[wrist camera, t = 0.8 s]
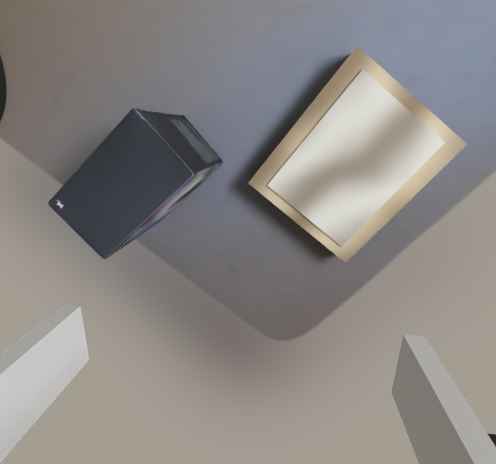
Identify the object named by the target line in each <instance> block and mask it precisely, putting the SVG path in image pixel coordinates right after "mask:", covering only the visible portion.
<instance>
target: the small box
mask: <svg viewBox="0 0 496 464" xmlns="http://www.w3.org/2000/svg"><path fill="white" fill-rule="evenodd" d="M222 162H223V161H222V160H221V158H220V157H219V156H218V155H217V154H216V152H215V151H214V150H213V149H212V148H211V147H210V145H209V144H208V143H207V142H206V141H205V140H204V138H203V137H202V136H201V135H200V134H199V133H198V132H197V130H196V129H195V128H194V127H193V126H192V124H191V123H190V122H189V121H188V120H187V119H186V117H185V116H184V115H174V114H165V113H159V112H151V111H145V110H140V109H137V108H132V109H131V111H130V112H129V113H128V114H127V115H126V116H125V117H124V118H123V119H122V121H121V122H120V123H119V124H118V125H117V126H116V127H115V128H114V129H113V130H112V132H111V133H110V134H109V135H108V136H107V137H106V138H105V139H104V141H103V142H102V143H101V144H100V145H99V146H98V147H97V148H96V149H95V150H94V152H93V153H92V154H91V155H90V156H89V157H88V158H87V159H86V161H85V162H84V163H83V164H82V165H81V166H80V167H79V169H78V170H77V171H76V172H75V173H74V174H73V175H72V176H71V177H70V179H69V180H68V181H67V182H66V183H65V184H64V185H63V186H62V187H61V189H60V190H59V191H58V192H57V193H56V194H55V195H54V197H53V198H52V199H51V200H50V201H49V202H48V204H49V206H50V207H51V208H52V209H53V210H54V211H55V212H56V213H57V214H58V215H59V216H60V217H61V218H62V219H63V220H64V221H65V222H66V223H67V224H68V225H69V226H70V227H71V228H72V229H73V230H74V231H75V232H76V233H77V234H78V235H79V236H80V237H81V238H82V239H83V240H84V241H85V242H86V243H87V244H88V245H89V246H90V247H91V248H92V249H93V250H94V251H95V252H96V253H98V254H99V255H100V256H101V258H103V259H106V258H108V257H109V256H110V255H112V254H113V253H115V252H117V251H118V250H120V249H121V248H122V247H124V246H125V245H127V244H128V243H130V242H131V241H133V240H134V239H136V238H137V237H139V236H140V235H141V234H143V233H144V232H146V231H147V230H149V229H150V228H151V227H153V226H154V225H156V224H157V223H158V222H160V221H161V220H162V219H163V218H164V217H165V216H167V215H168V214H169V213H170V212H171V211H172V210H173V209H174V208H175V207H177V206H178V205H179V204H180V203H181V202H182V201H183V200H184V199H185V198H187V197H188V196H189V195H190V194H191V193H192V192H193V191H194V190H195V189H196V188H197V187H198V186H199V185H200V184H202V183H203V182H204V181H205V180H206V179H207V178H208V177H209V176H210V175H211V174H212V173H213V172H214V171H215V170H216V169H217V168H218V167H219V166H220V165H221V164H222Z"/></svg>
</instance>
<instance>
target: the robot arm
mask: <svg viewBox="0 0 496 464" xmlns="http://www.w3.org/2000/svg"><path fill="white" fill-rule="evenodd" d="M5 100H6V80H5V73H4V68H3V64H2V61H1V57H0V119H1V117H2V114H3V111H4V106H5ZM88 360H89V356H88V350H87V343H86V337H85V331H84V325H83V319H82V312H81V307H80V306H76V305H62V306H61V307H60V308H58V309H57V310H56V311H55V312H53V313H52V314H51V315H50V316H48V317H47V318H46V319H44V320H43V321H42V322H41V323H39V324H38V325H37V326H36V327H35V328H33V329H32V330H30V331H29V332H28V333H27V334H25V335H24V336H23V337H22V338H20V339H19V340H18V341H17V342H15V343H14V344H13V345H11V346H10V347H9V348H8V349H6V350H5V351H4V352H2V353H1V354H0V462H1V461H2V460H3V459H4V458H5V456H6V455H7V454H8V453H9V452H10V451H11V450H12V448H13V447H14V446H15V445H16V444H17V443H18V441H19V440H20V439H21V438H22V437H23V435H24V434H25V433H26V432H27V431H28V430H29V429H30V427H31V426H32V425H33V424H34V423H35V422H36V420H37V419H38V418H39V417H40V416H41V415H42V414H43V412H44V411H45V410H46V409H47V408H48V407H49V405H50V404H51V403H52V402H53V401H54V399H55V398H56V397H57V396H58V395H59V394H60V393H61V391H62V390H63V389H64V388H65V387H66V386H67V385H68V383H69V382H70V381H71V380H72V379H73V377H74V376H75V375H76V374H77V373H78V372H79V370H80V369H81V368H82V367H83V366H84V365H85V364H86V362H87V361H88ZM392 394H393V397H394V399H395V402H396V405H397V407H398V410H399V412H400V415H401V418H402V420H403V423H404V425H405V428H406V430H407V433H408V436H409V438H410V441H411V443H412V446H413V448H414V451H415V454H416V457H417V459H418V462H419V464H496V435H495V434H487V432H486V431H485V429H484V428H483V426H482V425H481V423H480V422H479V420H478V419H477V417H476V416H475V414H474V412H473V411H472V409H471V408H470V406H469V405H468V403H467V401H466V400H465V398H464V397H463V395H462V394H461V392H460V391H459V389H458V388H457V386H456V384H455V383H454V381H453V380H452V378H451V377H450V375H449V374H448V372H447V370H446V369H445V367H444V366H443V364H442V363H441V361H440V360H439V358H438V357H437V355H436V353H435V352H434V350H433V349H432V347H431V346H430V344H429V343H428V341H427V339H426V338H425V337H423V336H412V335H403V340H402V344H401V349H400V354H399V359H398V364H397V369H396V374H395V379H394V383H393V388H392Z"/></svg>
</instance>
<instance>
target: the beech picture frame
mask: <svg viewBox="0 0 496 464" xmlns="http://www.w3.org/2000/svg"><path fill="white" fill-rule="evenodd" d="M466 145H467V144H466V143H465V142H464V141H463V140H462V139H461V138H460V137H458V136H457V135H456V134H455V133H454V132H453V131H452V130H451V129H450V128H448V127H447V126H446V125H445V124H444V123H443V122H442V121H441V120H439V119H438V118H437V117H436V116H435V115H434V114H433V113H432V112H431V111H429V110H428V109H427V108H426V107H425V106H424V105H423V104H422V103H420V102H419V101H418V100H417V99H416V98H415V97H414V96H413V95H411V94H410V93H409V92H408V91H407V90H406V89H405V88H404V87H403V86H401V85H400V84H399V83H398V82H397V81H396V80H395V79H394V78H392V77H391V76H390V75H389V74H388V73H387V72H386V71H385V70H384V69H382V68H381V67H380V66H379V65H378V64H377V63H376V62H375V61H373V60H372V59H371V58H370V57H369V56H368V55H367V54H366V53H364V52H363V51H362V50H361V49H360V48H359V47H358V46H357V47H356V48H355V49H354V50H353V52H352V53H351V54H350V55H349V57H348V58H347V59H346V60H345V62H344V63H343V64H342V65H341V67H340V68H339V69H338V70H337V72H336V73H335V74H334V75H333V77H332V78H331V79H330V81H329V82H328V83H327V84H326V86H325V87H324V88H323V89H322V91H321V92H320V93H319V94H318V96H317V97H316V98H315V99H314V101H313V102H312V103H311V104H310V106H309V107H308V108H307V109H306V111H305V112H304V113H303V114H302V116H301V117H300V118H299V120H298V121H297V122H296V123H295V125H294V126H293V127H292V128H291V130H290V131H289V132H288V133H287V135H286V136H285V137H284V138H283V140H282V141H281V142H280V143H279V145H278V146H277V147H276V148H275V150H274V151H273V152H272V153H271V155H270V156H269V157H268V159H267V160H266V161H265V162H264V164H263V165H262V166H261V167H260V169H259V170H258V171H257V172H256V174H255V175H254V176H253V177H252V179H251V180H250V181H249V182H248V183H249V184H250V185H251V186H252V187H253V188H255V189H256V190H257V191H258V192H260V193H261V194H262V195H263V196H264V197H266V198H267V199H268V200H269V201H270V202H272V203H273V204H274V205H275V206H277V207H278V208H279V209H280V210H281V211H283V212H284V213H285V214H286V215H288V216H289V217H290V218H291V219H292V220H294V221H295V222H296V223H297V224H299V225H300V226H301V227H302V228H303V229H305V230H306V231H307V232H308V233H310V234H311V235H312V236H313V237H314V238H316V239H317V240H318V241H319V242H321V243H322V244H323V245H324V246H325V247H327V248H328V249H329V250H330V251H332V252H333V253H334V254H335V255H336V256H338V257H339V258H340V259H341V260H343V261H344V262H345V263H346V262H347V261H348V260H349V259H350V258H351V257H352V256H353V255H354V254H355V253H356V252H357V251H358V250H359V249H360V248H362V247H363V246H364V245H365V244H366V243H367V242H368V241H369V240H370V239H371V238H372V237H373V236H374V235H375V234H376V233H377V232H378V231H379V230H380V229H381V228H382V227H383V226H384V225H385V224H386V223H387V222H388V221H389V220H390V219H391V218H392V217H393V216H394V215H395V214H396V213H397V212H398V211H399V210H400V209H401V208H402V207H403V206H404V205H406V204H407V203H408V202H409V201H410V200H411V199H412V198H413V197H414V196H415V195H416V194H417V193H418V192H419V191H420V190H421V189H422V188H423V187H424V186H425V185H426V184H427V183H428V182H429V181H430V180H431V179H432V178H433V177H434V176H435V175H436V174H437V173H438V172H439V171H440V170H441V169H442V168H443V167H444V166H445V165H446V164H447V163H449V162H450V161H451V160H452V159H453V158H454V157H455V156H456V155H457V154H458V153H459V152H460V151H461V150H462V149H463V148H464V147H465V146H466Z"/></svg>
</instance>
